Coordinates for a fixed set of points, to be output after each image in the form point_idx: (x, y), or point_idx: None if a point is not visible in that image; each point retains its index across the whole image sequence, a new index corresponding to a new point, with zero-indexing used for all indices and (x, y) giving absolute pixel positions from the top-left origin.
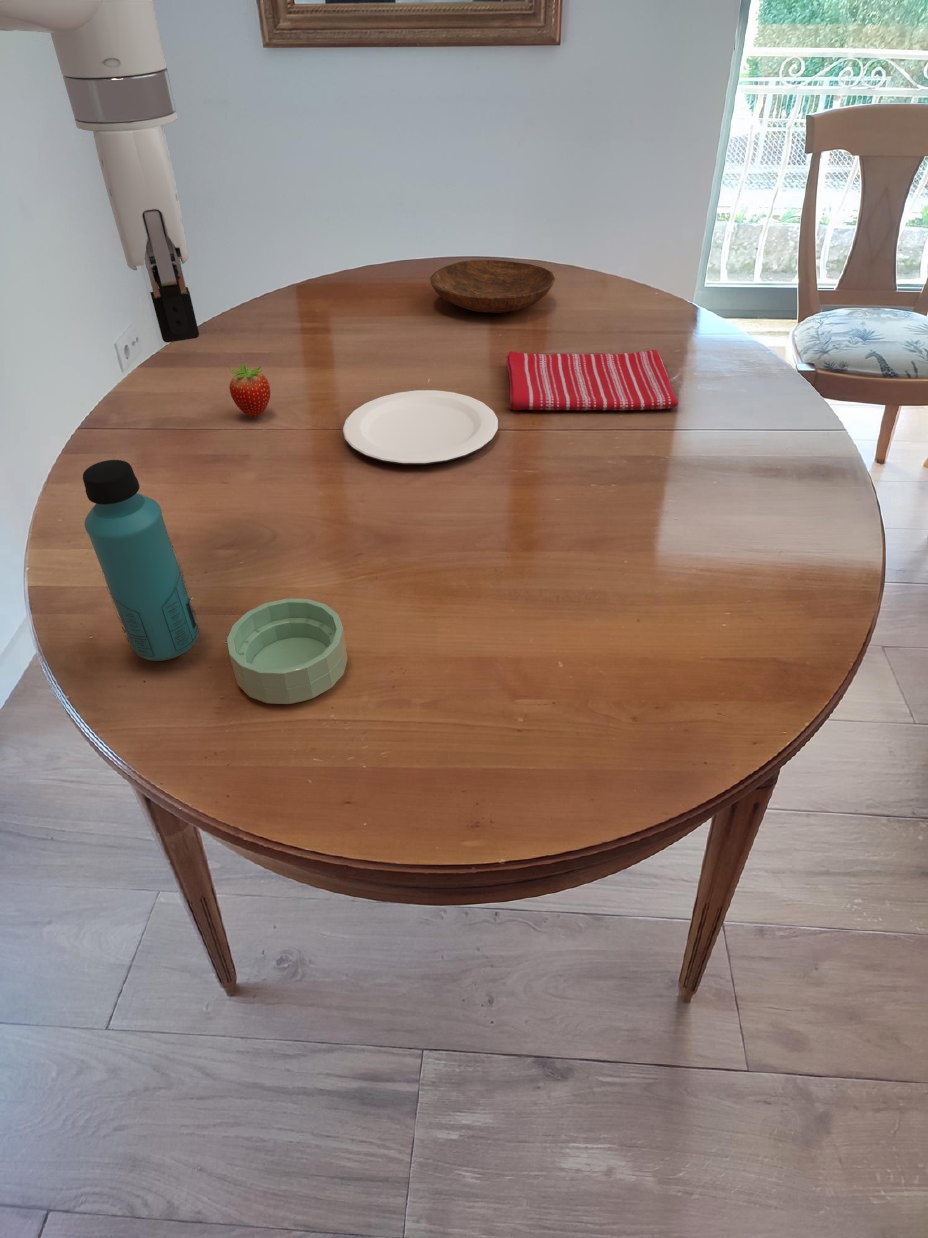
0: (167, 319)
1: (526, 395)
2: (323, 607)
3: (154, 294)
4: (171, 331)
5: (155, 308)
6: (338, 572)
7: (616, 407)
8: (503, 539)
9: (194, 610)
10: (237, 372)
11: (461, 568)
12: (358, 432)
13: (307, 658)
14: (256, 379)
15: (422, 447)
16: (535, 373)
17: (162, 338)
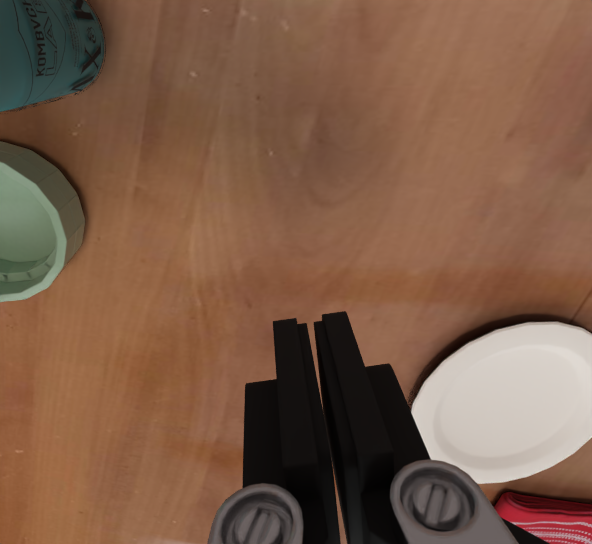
0: (244, 422)
1: (509, 519)
2: (41, 283)
3: (214, 526)
4: (245, 386)
5: (280, 421)
6: (215, 277)
7: None
8: (239, 442)
9: (63, 98)
10: None
11: (193, 400)
12: (531, 341)
13: (22, 232)
14: None
15: (461, 401)
16: (567, 528)
17: (274, 324)
